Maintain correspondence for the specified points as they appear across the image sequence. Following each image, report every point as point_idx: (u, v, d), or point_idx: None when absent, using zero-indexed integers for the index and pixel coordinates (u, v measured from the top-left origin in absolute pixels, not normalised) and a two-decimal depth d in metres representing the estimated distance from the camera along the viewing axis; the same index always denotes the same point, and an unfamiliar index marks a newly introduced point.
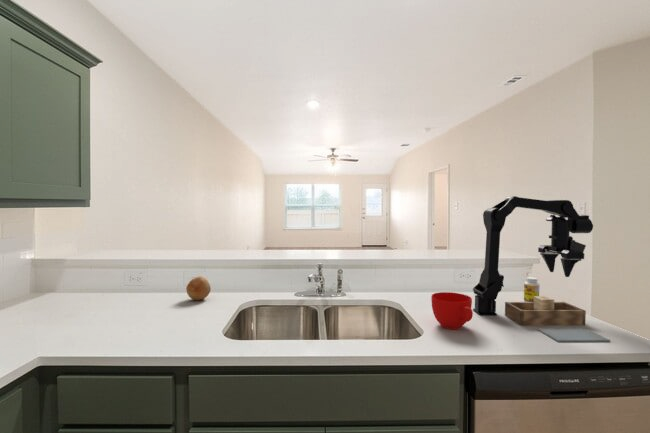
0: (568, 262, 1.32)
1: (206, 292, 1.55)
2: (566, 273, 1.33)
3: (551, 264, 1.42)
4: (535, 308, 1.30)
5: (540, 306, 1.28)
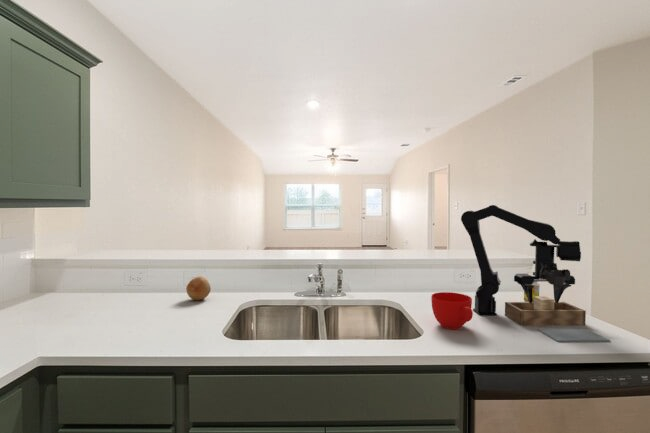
0: (527, 287, 1.29)
1: (206, 292, 1.55)
2: None
3: (556, 294, 1.29)
4: (535, 308, 1.30)
5: (540, 306, 1.27)
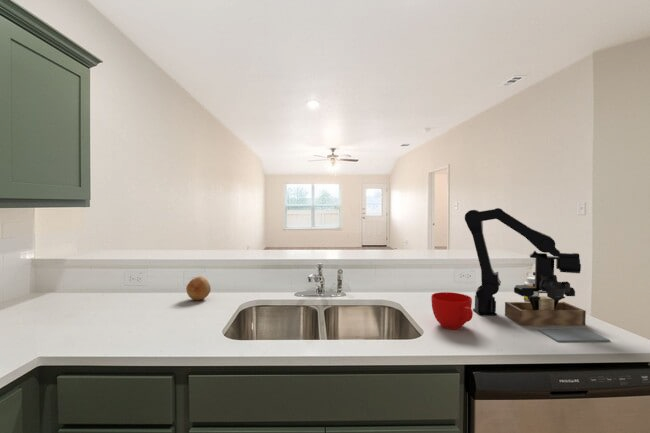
0: (533, 298, 1.30)
1: (206, 292, 1.55)
2: None
3: None
4: None
5: (540, 306, 1.27)
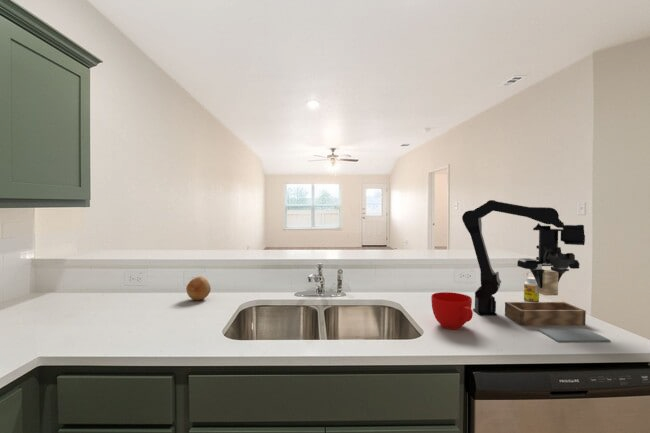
0: (536, 272, 1.27)
1: (206, 292, 1.55)
2: (537, 283, 1.28)
3: None
4: None
5: (544, 279, 1.25)
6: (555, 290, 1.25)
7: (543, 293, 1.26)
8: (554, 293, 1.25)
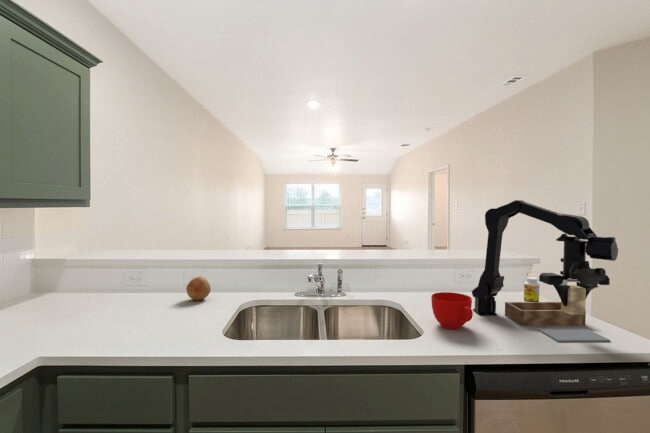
0: (561, 288, 1.14)
1: (206, 292, 1.55)
2: (562, 301, 1.15)
3: None
4: None
5: (570, 296, 1.12)
6: (582, 309, 1.12)
7: (568, 312, 1.13)
8: (581, 312, 1.12)
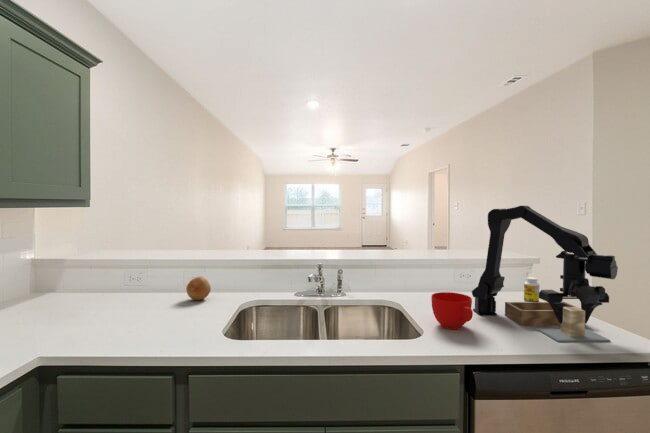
0: (556, 305, 1.15)
1: (206, 292, 1.55)
2: (557, 318, 1.15)
3: None
4: (563, 320, 1.16)
5: (569, 318, 1.13)
6: (581, 331, 1.12)
7: (568, 334, 1.13)
8: (580, 334, 1.12)
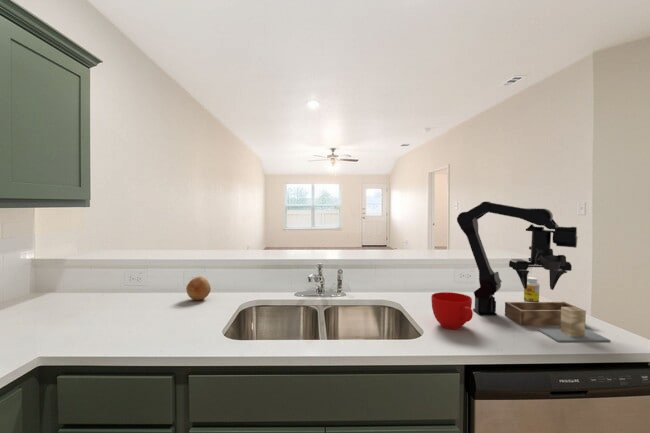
0: (521, 272, 1.27)
1: (206, 292, 1.55)
2: (522, 284, 1.28)
3: (552, 280, 1.27)
4: (563, 320, 1.16)
5: (569, 318, 1.13)
6: (581, 331, 1.12)
7: (568, 334, 1.13)
8: (580, 334, 1.12)
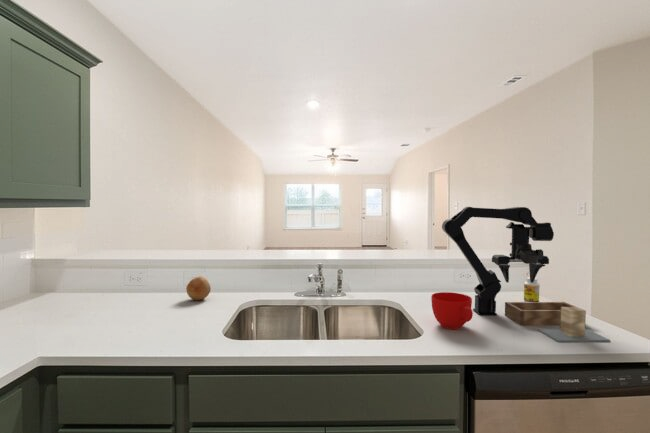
0: (503, 267, 1.36)
1: (206, 292, 1.55)
2: None
3: (531, 274, 1.36)
4: (563, 320, 1.16)
5: (569, 318, 1.13)
6: (581, 331, 1.12)
7: (568, 334, 1.13)
8: (580, 334, 1.12)
